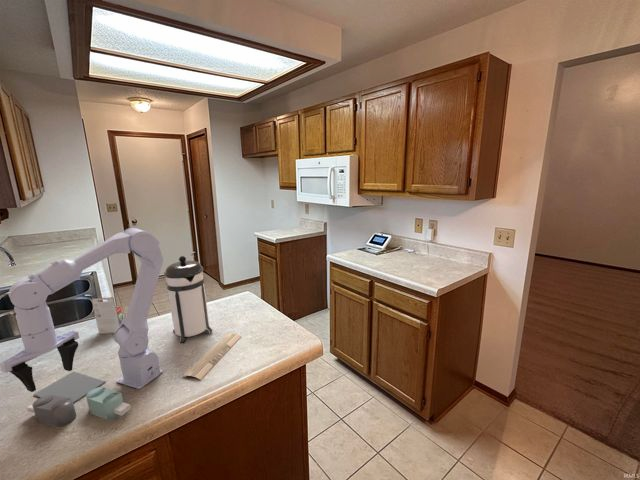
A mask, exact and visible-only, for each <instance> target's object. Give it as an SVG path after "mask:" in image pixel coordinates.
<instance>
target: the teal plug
mask: <svg viewBox="0 0 640 480" xmlns="http://www.w3.org/2000/svg"><path fill="white" fill-rule="evenodd" d="M85 398H86V403H87V407H88V410H89V413H90V414H92V415H94V416H98V417H100V418H102V419H105V420H108V421H113V420H115V419H118V418H119V417H122V416H123V415H125V414H126V413H127V412H128V411H130V410H131V404H130V403H127V402H124V399H123V395H122V393H121V392H119V391H116V390H113V389H111V388H106V387H104V386H99V387H98V388H95V389H93V390H91V391H89V392H88V393H87V395H86V396H85Z"/></svg>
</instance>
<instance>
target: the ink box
mask: <svg viewBox="0 0 640 480" xmlns="http://www.w3.org/2000/svg"><path fill="white" fill-rule="evenodd" d="M102 300H103V301H102ZM91 302H92V306H93V313H94V318H95V321H96V326H97V330H98V334H99V335H105V334H107V335H108V334H114V333H115V331H116V330H117V329H118V327H119V326H120V325H121V322H122V320H123V319H124V315H123V311H122V306H121V305H115V299H114V297H113V296H112V297H97V298H91Z"/></svg>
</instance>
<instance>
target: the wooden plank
mask: <svg viewBox="0 0 640 480" xmlns="http://www.w3.org/2000/svg"><path fill="white" fill-rule="evenodd" d="M241 338H242V335H241V334H237V333H233V332H232V333H226V334H224V336H222V337H221V339H219V341H217V342H216V343H215V345H213V346H212V347H211V348H210V349H209V350H208V351H207V352H206V353H205V354H204V355H203V356H201V358H200V359H198V360H197V362H195V363H194V364H193V365H192V367H190V368H189V369H188V370H187V371H186V372H185V373H184V374H183V375H182V378H185V377H188V376H190V377H194V378H197V379H198V380H200V381H201V380H202V379H203V378H204V377H205V376H206V375H208V373H209V372H210V371H211V370H212V368H214V367H215V365H216V364H217V363H218V362H219V361H220V360H221V359H222V358H223V357H224V356H225V354H226V353H228V351H230V349H231V348H232V347H233V346H234V345H235V344H236V343H237V342H238V341H239V340H240V339H241Z"/></svg>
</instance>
